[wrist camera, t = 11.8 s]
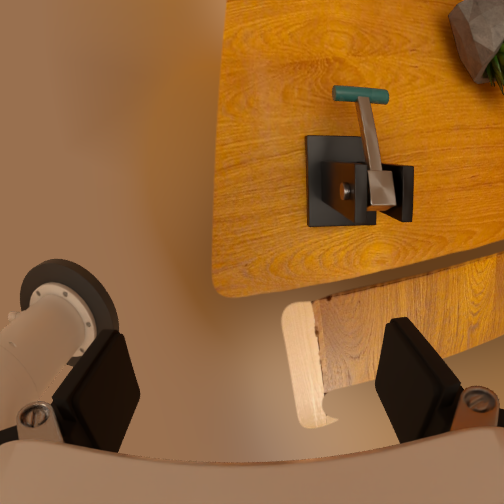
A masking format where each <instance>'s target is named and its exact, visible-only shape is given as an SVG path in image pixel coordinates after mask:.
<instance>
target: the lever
mask: <svg viewBox="0 0 504 504" xmlns="http://www.w3.org/2000/svg"><path fill="white" fill-rule="evenodd" d="M332 97H333V100H334V101H347V102H355V105H356V110H357V115H358V121H359V126H360V132H361V138H362V144H363V151H364V157H365V164H367V211H386V210H388V209H390V208H392V207H394V206H396V197H395V189H394V181H393V174H392V171H382V165H381V158H380V152H379V146H378V140H377V135H376V129H375V124H374V119H373V114H372V109H371V104H370V103H374V104H385V105H386V104H387V103H388V101H389V93H388V91H387V90H385V89H376V88H366V87H354V86H339V85H334V86H333V88H332Z"/></svg>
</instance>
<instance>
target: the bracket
mask: <svg viewBox="0 0 504 504" xmlns="http://www.w3.org/2000/svg"><path fill="white" fill-rule="evenodd" d="M305 151H306V184H307V225H308V226H309V227H323V226H356V225H376V212H377V211H367V164H365V157H364V151H363V144H362V138H361V137H358V136H320V135H307V136H305ZM381 165H382V171H392V174H393V181H394V189H395V197H396V206H394V207H392V208H390V209H388V210H386V211H380V212H382V213H384V214H386V215H388V216H390V217H392V218H394V219H397V220H399V221H401V222H412V215H413V189H414V166H408V165H398V164H387V163H381Z"/></svg>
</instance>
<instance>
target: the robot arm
mask: <svg viewBox="0 0 504 504" xmlns="http://www.w3.org/2000/svg"><path fill="white" fill-rule="evenodd" d="M8 319H9V321H10V322H11V323H10V324H8V325H7V326H6V327H5V328H4V329H2V330H1V331H0V504H504V409H500V408H499V406H500V403H499V399H498V397H497V395H496V394H495V393H494V392H493V391H492V390H490V389H488V388H486V387H482V386H471V387H468V388H466V389H465V390H464V389H463V388H462V386H460V384H461V382H460V381H459V379H458V378H457V377H456V376H455V374H454V373H453V372H452V371H451V369H450V368H449V367H448V366H447V364H446V363H445V362H444V361H443V359H442V358H441V357H440V356H439V354H438V353H437V352H436V351H435V350H434V348H433V347H432V346H431V345H430V343H429V342H428V341H427V340H426V339H425V337H424V336H423V335H422V334H421V333H420V332H419V330H418V329H417V328H416V327H415V326H414V324H413V323H412V322H411V321H410V320H409V319H408V318H407V317H401V318H393V319H391V321H390V323H387V324H386V327H385V332H384V338H383V344H382V350H381V355H380V360H379V365H378V370H377V375H376V380H375V388H376V391H377V393H378V396H379V398H380V400H381V402H382V404H383V406H384V408H385V411H386V413H387V415H388V417H389V419H390V422H391V424H392V426H393V428H394V430H395V433H396V435H397V437H398V440H399V442H400V444H397V445H392V446H388V447H383V448H378V449H373V450H368V451H362V452H356V453H350V454H344V455H337V456H330V457H323V458H322V457H321V458H313V459H302V460H291V461H276V462H248V463H225V462H224V463H221V462H196V461H181V460H168V459H159V458H150V457H142V456H135V455H128V454H121V453H118V451H119V449H120V446H121V444H122V440H123V439H124V436H125V434H126V431H127V429H128V426H129V424H130V421H131V419H132V416H133V414H134V411H135V409H136V406H137V404H138V402H139V399H140V389H139V386H138V383H137V380H136V377H135V373H134V370H133V367H132V363H131V360H130V357H129V353H128V349H127V345H126V341H125V338H124V336H123V334H120V333H119V331H118V330H112V329H103V330H101V332H100V333H99V334H98V335H97V329H96V323H95V319H94V317H93V314H92V312H91V310H90V309H89V307H88V305H87V304H86V303H85V301H84V300H83V299H82V298H81V297H80V296H79V295H78V294H77V293H76V292H75V291H74V290H72V289H71V288H69V287H67V286H65V285H63V284H60V283H55V282H49V283H45V284H43V285H41V286H40V287H38V288H37V289H36V290H35V291H34V292H33V294H32V296H31V299H30V307H29V308H28V309H27V310H24V311H22V312H21V313H20V312H13V311H11V312H10V313H9V315H8ZM96 336H97V337H96ZM78 356H81V358H80V359H79V360H78V362H77V363H76V364H75V366H74V367H73V369H72V370H71V371H70V372H69V374H68V376H67V377H66V378H65V379H64V381H63V382H62V384H61V385H60V386H59V388H58V389H57V390H56V392H55V393H54V395H53V396H52V399H53V402H52V403H51V405H50V404H49V403H46V402H43V401H38V400H39V399H40V398H41V396H42V395H43V394H44V392H45V391H46V390H47V388H48V387H49V386H50V384H51V383H52V382H53V380H54V379H55V378H56V376H57V375H58V374H59V372H60V371H61V370H62V368H63V367H64V366H65V365H66V363H67V362H68V361H69V360H70V358H71V357H78Z"/></svg>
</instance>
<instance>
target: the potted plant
mask: <svg viewBox="0 0 504 504" xmlns="http://www.w3.org/2000/svg"><path fill="white" fill-rule="evenodd" d="M448 17H449V20H450V24H451V27H452V31H453V35H454V38H455V42H456V46H457V50H458V53H459V56H460V59H461V61H462V63H463V64H464V66H465V67H466V69H467V71H468V72H469V74H470V76H471V77H472V79H473V81H474V82H476V83H478V84H481V83H488V82H490V83H491V85H492V83H493V85H494V87H495V83H494V82H495V81H496V82H497V84H498V86H499V87H500V89H501V92H502V94H503V95H504V93H503V86H504V0H464V1H462V2H460V3H458V4H457V5H456V6H455V8H454V9H453V10H452V12H451V13H450V14H449V15H448ZM502 84H503V86H502Z"/></svg>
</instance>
